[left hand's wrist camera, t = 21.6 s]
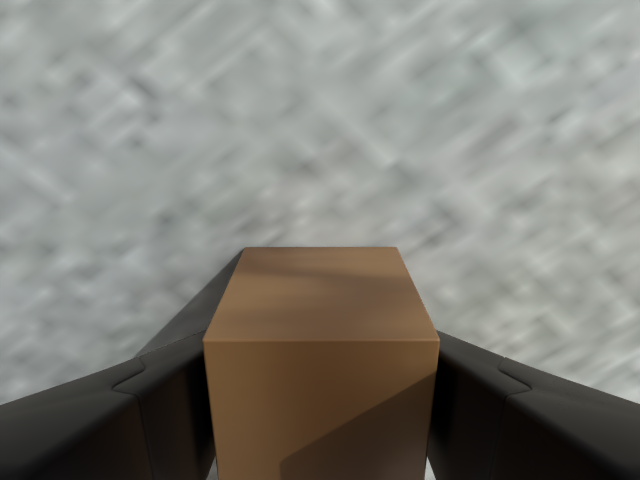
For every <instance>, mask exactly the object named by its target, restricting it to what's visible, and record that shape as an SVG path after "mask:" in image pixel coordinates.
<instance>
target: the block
mask: <svg viewBox="0 0 640 480" xmlns="http://www.w3.org/2000/svg"><path fill="white" fill-rule="evenodd" d="M202 345H203V353H204V362H205V370H206V379H207V387H208V396H209V404H210V413H211V422H212V430H213V439H214V447H215V456H216V464H217V473H218V480H424V478H425V469H426V460H427V451H428V443H429V434H430V425H431V416H432V408H433V399H434V390H435V381H436V373H437V364H438V355H439V346H440V338H439V336H438V334H437V332H436V330H435V328H434V326H433V323H432V321H431V319H430V317H429V315H428V313H427V311H426V309H425V306H424V304H423V302H422V300H421V298H420V296H419V294H418V292H417V289H416V287H415V285H414V283H413V281H412V279H411V277H410V275H409V272H408V270H407V268H406V266H405V264H404V262H403V260H402V258H401V255H400V253H399V251H398V249H397V247H246V248H244V250H243V252H242V255H241V257H240V259H239V261H238V263H237V265H236V268H235V270H234V272H233V274H232V276H231V278H230V281H229V283H228V285H227V287H226V289H225V291H224V294H223V296H222V298H221V300H220V302H219V304H218V307H217V309H216V311H215V313H214V315H213V318H212V320H211V322H210V324H209V326H208V328H207V331H206V333H205V335H204V337H203V339H202Z"/></svg>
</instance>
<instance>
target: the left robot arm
mask: <svg viewBox="0 0 640 480" xmlns="http://www.w3.org/2000/svg"><path fill="white" fill-rule="evenodd" d="M206 331H207V330H205V331H202V332H200V333H197V334H195V335H192V336H190V337H187V338H185V339H182V340H180V341H177V342H175V343H172V344H170V345H167V346H165V347H162V348H160V349H157V350H155V351H152V352H150V353H147V354H145V355H142V356H140V357H139V358H138V357H136V358H133V359H131V360H129V361H126V362H123V363H121V364H118V365H116V366H113V367H110V368H108V369H105V370H102V371H99V372H97V373H94V374H91V375H88V376H85V377H82V378H79V379H76V380H73V381H71V382H68V383H65V384H62V385H59V386H56V387H53V388H50V389H47V390H44V391H41V392H38V393H35V394H32V395H29V396H26V397H23V398H21V399H18V400H15V401H12V402H9V403H6V404H3V405H0V480H206V479H207V476H208V474H209V471H210V468H211V466H212V463H213V460H214V457H215V447H214V439H213V430H212V422H211V413H210V404H209V396H208V387H207V379H206V370H205V362H204V353H203V345H202V339H203V337H204V335H205V333H206ZM436 332H437V334H438V336H439V338H440V346H439V355H438V364H437V373H436V381H435V390H434V399H433V408H432V416H431V425H430V434H429V443H428V451H427V457H428V459H429V462H430V465H431V467H432V470H433V473H434V476H435V478H436V480H640V404H638V403H635V402H632V401H629V400H626V399H623V398H620V397H617V396H614V395H611V394H608V393H605V392H602V391H599V390H596V389H593V388H590V387H587V386H584V385H581V384H578V383H576V382H573V381H570V380H567V379H564V378H561V377H558V376H555V375H552V374H549V373H546V372H544V371H541V370H538V369H535V368H532V367H530V366H527V365H525V364H522V363H519V362H517V361H514V360H512V359H509V358H507V357H505V358H504V357H503V356H500V355H498V354H495V353H493V352H490V351H488V350H485V349H483V348H480V347H478V346H475V345H473V344H470V343H468V342H465V341H463V340H460V339H458V338H455V337H453V336H450V335H448V334H445V333H443V332H440V331H438V330H436Z"/></svg>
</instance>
